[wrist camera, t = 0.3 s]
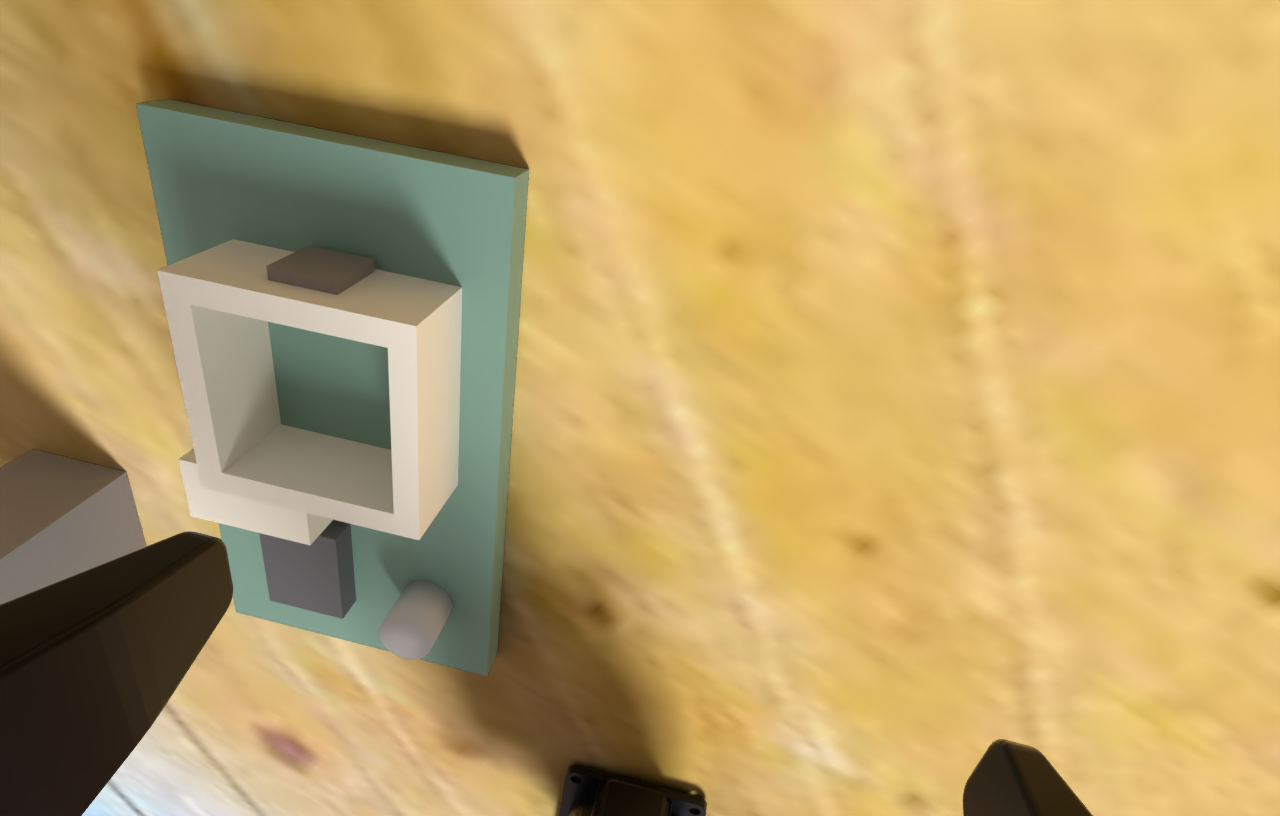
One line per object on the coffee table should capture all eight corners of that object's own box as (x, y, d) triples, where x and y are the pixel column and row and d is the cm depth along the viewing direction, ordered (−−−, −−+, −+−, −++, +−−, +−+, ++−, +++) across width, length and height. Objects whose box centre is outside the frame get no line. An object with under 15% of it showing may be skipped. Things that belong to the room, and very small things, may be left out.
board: (497, 653, 30) (457, 741, 26) (254, 592, 31) (184, 668, 27) (528, 169, 20) (472, 204, 16) (168, 99, 21) (38, 116, 17)
